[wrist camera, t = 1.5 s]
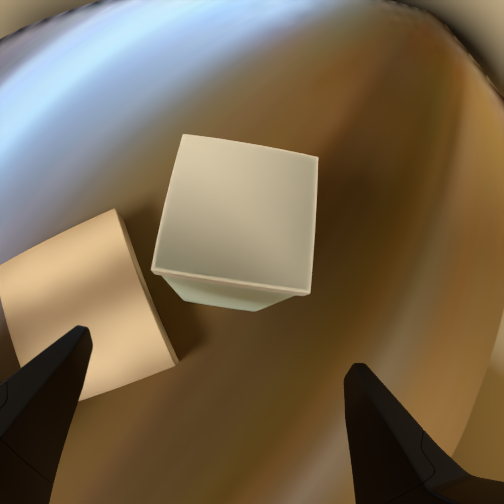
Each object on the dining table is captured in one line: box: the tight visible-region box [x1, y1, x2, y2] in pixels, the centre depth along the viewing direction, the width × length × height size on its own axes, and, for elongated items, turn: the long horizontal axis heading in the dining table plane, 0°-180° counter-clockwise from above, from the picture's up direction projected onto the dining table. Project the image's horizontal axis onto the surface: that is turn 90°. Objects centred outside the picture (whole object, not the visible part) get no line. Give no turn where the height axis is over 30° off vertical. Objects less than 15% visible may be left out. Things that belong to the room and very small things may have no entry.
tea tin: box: [151, 134, 318, 311], centre depth 16 cm, size 5×5×12 cm
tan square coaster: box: [0, 208, 179, 401], centre depth 19 cm, size 11×11×3 cm
